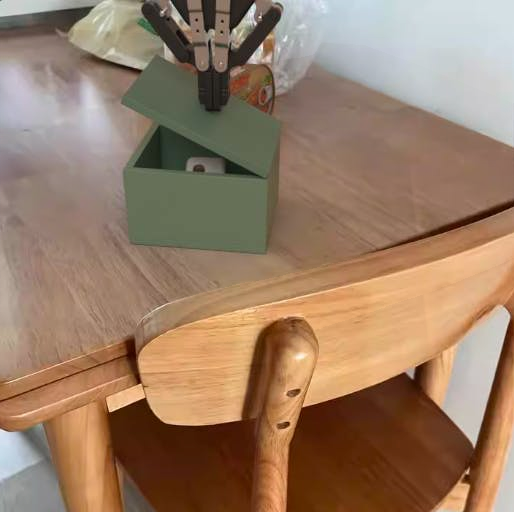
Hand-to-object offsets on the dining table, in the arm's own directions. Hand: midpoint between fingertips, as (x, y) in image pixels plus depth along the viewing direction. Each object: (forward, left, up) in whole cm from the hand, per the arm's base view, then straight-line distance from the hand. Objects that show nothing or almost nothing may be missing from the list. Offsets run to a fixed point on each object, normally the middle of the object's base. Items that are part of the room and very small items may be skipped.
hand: (214, 108), depth 70 cm
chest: (-1, 0, -12) cm, 12 cm away
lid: (-1, 0, -1) cm, 1 cm away
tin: (-1, +23, -12) cm, 26 cm away
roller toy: (-1, 0, -11) cm, 11 cm away
